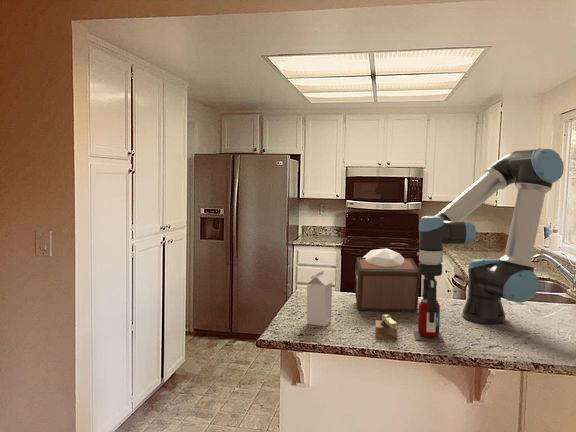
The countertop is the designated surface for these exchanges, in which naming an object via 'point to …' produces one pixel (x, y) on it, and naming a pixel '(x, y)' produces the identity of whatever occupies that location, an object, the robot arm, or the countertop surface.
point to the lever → (388, 321)
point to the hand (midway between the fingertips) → (428, 325)
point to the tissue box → (386, 282)
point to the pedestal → (385, 330)
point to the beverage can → (423, 320)
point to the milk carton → (319, 300)
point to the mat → (420, 338)
